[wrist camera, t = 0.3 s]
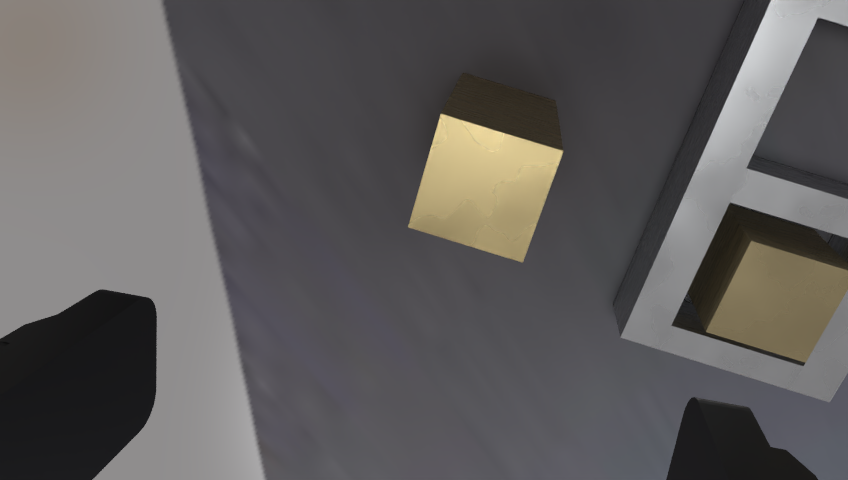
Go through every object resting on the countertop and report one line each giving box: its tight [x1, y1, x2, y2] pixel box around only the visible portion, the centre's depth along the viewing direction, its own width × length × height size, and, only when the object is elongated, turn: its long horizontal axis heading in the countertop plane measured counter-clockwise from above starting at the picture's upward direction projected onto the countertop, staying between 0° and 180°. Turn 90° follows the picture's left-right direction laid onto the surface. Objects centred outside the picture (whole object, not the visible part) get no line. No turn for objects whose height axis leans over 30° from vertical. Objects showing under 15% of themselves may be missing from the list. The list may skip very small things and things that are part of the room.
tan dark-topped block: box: [408, 73, 563, 263], centre depth 27 cm, size 4×4×8 cm
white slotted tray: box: [613, 0, 848, 402], centre depth 27 cm, size 22×9×4 cm, turn 165°
